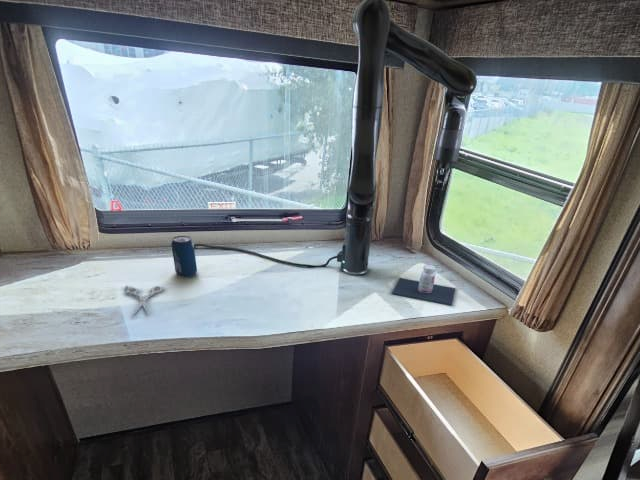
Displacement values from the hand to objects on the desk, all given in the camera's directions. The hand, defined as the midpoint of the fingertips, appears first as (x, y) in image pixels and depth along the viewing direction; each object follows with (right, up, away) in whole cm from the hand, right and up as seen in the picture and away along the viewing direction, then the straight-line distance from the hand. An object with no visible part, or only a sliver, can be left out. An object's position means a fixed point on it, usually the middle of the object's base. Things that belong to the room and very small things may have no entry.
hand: (437, 198), depth 148 cm
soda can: (-86, -27, -2) cm, 90 cm away
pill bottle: (-5, -32, 0) cm, 32 cm away
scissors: (-93, -39, -20) cm, 103 cm away
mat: (-5, -32, 0) cm, 32 cm away
